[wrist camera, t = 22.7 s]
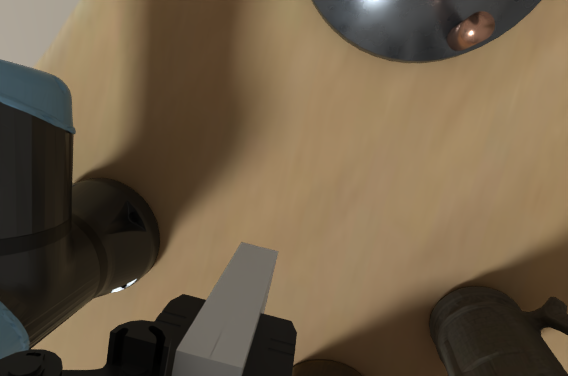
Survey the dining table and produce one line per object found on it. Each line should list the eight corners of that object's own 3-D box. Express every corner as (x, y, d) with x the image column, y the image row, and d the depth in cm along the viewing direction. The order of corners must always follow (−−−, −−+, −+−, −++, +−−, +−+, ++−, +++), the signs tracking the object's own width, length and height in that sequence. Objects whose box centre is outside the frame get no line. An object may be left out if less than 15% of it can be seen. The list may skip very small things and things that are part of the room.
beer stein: (473, 381, 46) (576, 579, 26) (406, 331, 46) (459, 493, 26) (566, 296, 42) (767, 454, 23) (493, 241, 42) (632, 354, 22)
